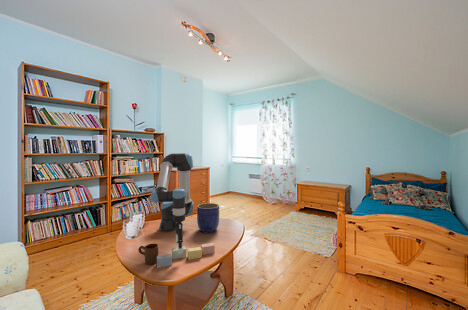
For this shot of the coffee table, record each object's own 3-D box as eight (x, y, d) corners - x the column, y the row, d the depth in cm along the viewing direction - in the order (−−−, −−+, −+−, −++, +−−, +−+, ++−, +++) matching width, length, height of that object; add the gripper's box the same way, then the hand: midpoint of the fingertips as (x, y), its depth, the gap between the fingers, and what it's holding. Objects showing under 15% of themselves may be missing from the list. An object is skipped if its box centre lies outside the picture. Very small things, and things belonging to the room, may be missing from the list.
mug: (134, 264, 122) (134, 248, 122) (142, 257, 130) (142, 242, 130) (154, 265, 121) (154, 249, 121) (160, 258, 128) (160, 243, 128)
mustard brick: (188, 259, 128) (188, 251, 128) (187, 256, 131) (187, 248, 131) (201, 257, 130) (201, 249, 130) (200, 254, 134) (200, 246, 134)
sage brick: (172, 259, 128) (172, 251, 128) (172, 256, 132) (172, 248, 132) (186, 256, 131) (186, 248, 131) (185, 254, 135) (185, 246, 135)
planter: (192, 232, 171) (192, 207, 170) (204, 225, 188) (204, 202, 187) (212, 236, 163) (212, 209, 163) (223, 228, 180) (222, 204, 180)
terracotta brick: (202, 255, 133) (202, 247, 133) (201, 252, 137) (201, 244, 137) (214, 253, 136) (214, 245, 136) (213, 250, 140) (213, 242, 140)
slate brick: (157, 268, 118) (157, 259, 118) (156, 264, 122) (156, 256, 122) (171, 265, 122) (171, 256, 122) (171, 261, 125) (171, 253, 125)
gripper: (171, 210, 142) (171, 241, 142) (174, 220, 118) (174, 258, 118) (182, 209, 144) (182, 240, 144) (187, 219, 121) (187, 256, 121)
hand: (179, 248), depth 131 cm, fingers open, 13 cm apart
